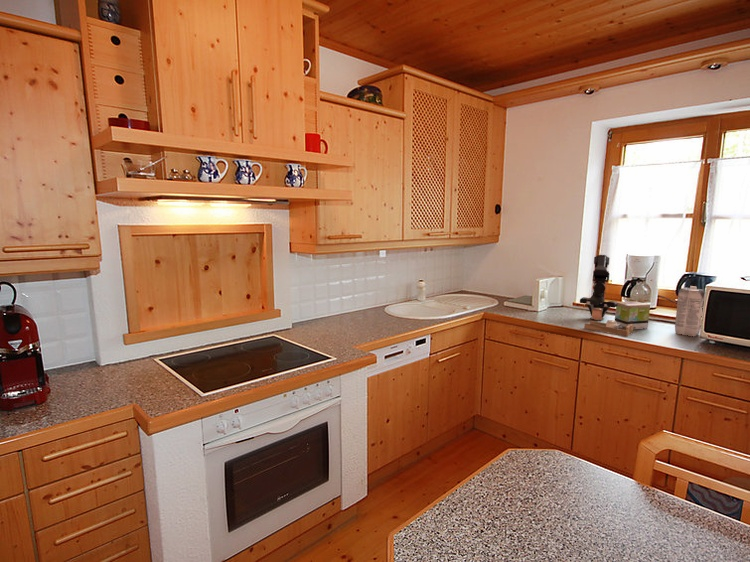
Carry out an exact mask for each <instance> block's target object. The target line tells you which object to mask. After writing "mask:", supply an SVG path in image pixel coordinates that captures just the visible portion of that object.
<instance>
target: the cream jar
mask: <svg viewBox="0 0 750 562" xmlns="http://www.w3.org/2000/svg"><path fill="white" fill-rule="evenodd" d="M605 323H606V327H610V328H616V325H617V322H616V321H615V320H613V319H612V320H610V319H608V320H607V321H606V322H605Z"/></svg>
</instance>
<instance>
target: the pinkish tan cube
mask: <svg viewBox="0 0 750 562" xmlns="http://www.w3.org/2000/svg"><path fill="white" fill-rule="evenodd" d="M602 313H603V310H602V309H601V308H593V309H592V316H591V317H592V319H591V320H593V319H595V320H594V321H599V320H601V321H603V320H602Z"/></svg>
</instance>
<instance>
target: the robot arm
mask: <svg viewBox="0 0 750 562" xmlns="http://www.w3.org/2000/svg"><path fill="white" fill-rule="evenodd" d="M593 265H594V270H593V272H592V274H593V275H592V282H594V283H593V292H592V294H591V296H590V297H586V296H584V297H581V298H580V300H579V304H584V305H585V306H586V307H587V308H588V311H589V312H590V316H591V317H590V318H589V320H593V319H592V309H593V308H601V309H602V310H603V313H602V320H600V321H603V320H604V319H605V318H604V316H605V315H606V313H607V312H608V310H609V309H611V308H615V309H616V307H617V304H618V301H615V300H608V301H606V300H605V294H606V283H607V282H608V281H610V272H609V271H608V266H609V265H610V257H609V256H607V255H606V254H597V256H594V258H593ZM593 321H596V320H595V319H594V320H593ZM600 321H599V322H600Z"/></svg>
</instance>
